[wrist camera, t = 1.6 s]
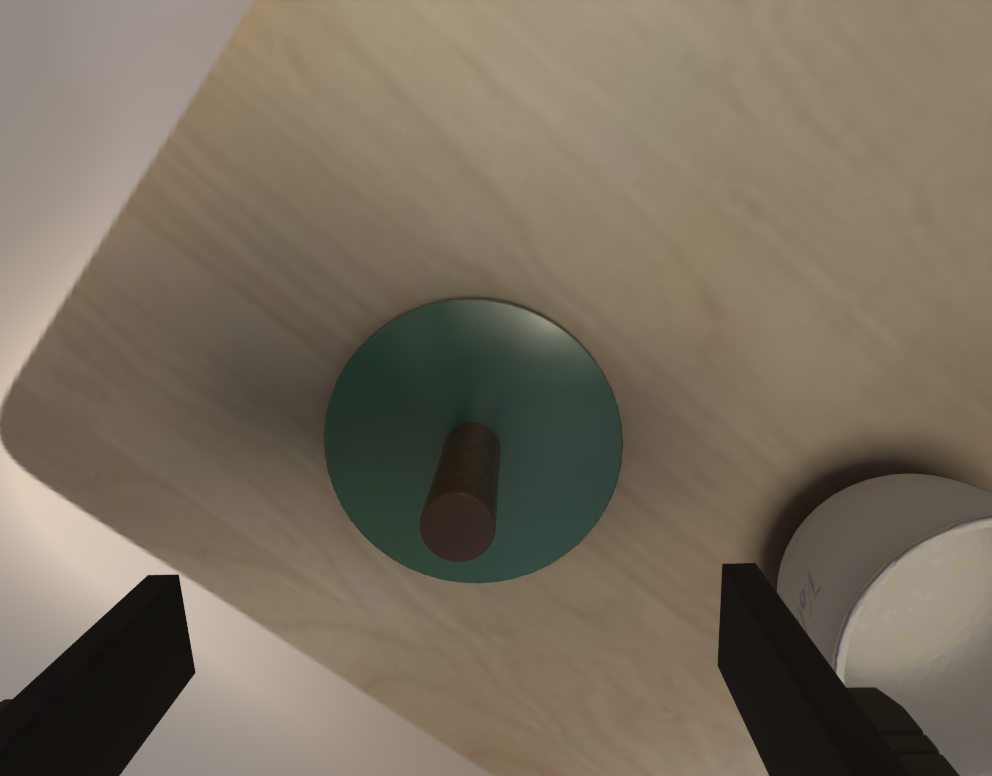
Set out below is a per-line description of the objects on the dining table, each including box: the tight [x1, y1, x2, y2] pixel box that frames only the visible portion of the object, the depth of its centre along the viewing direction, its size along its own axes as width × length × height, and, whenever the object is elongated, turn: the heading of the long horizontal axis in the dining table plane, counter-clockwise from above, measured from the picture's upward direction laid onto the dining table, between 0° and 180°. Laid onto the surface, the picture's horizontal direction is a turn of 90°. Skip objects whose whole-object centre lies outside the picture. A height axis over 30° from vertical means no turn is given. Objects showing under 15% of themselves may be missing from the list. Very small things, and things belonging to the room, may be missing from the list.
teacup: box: [777, 474, 992, 776], centre depth 25 cm, size 14×11×8 cm
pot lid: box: [324, 298, 623, 583], centre depth 24 cm, size 13×13×9 cm
